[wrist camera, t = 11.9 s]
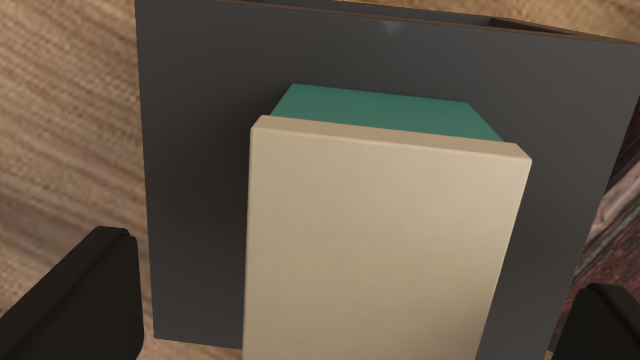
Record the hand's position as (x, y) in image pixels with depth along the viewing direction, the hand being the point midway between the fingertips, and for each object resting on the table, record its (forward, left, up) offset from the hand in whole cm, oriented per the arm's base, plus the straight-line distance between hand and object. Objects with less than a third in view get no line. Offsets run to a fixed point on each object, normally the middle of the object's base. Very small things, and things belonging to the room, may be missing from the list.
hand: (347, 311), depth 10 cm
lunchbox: (0, 0, -5) cm, 5 cm away
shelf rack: (0, 0, -18) cm, 18 cm away
